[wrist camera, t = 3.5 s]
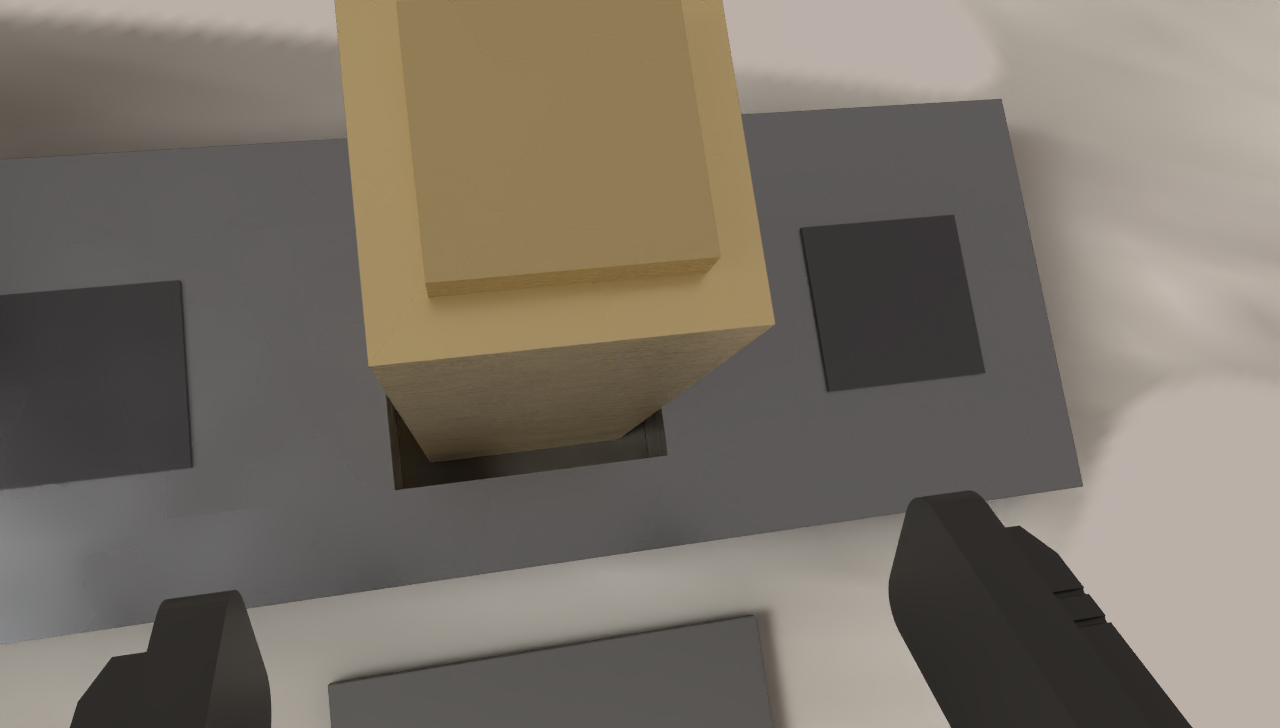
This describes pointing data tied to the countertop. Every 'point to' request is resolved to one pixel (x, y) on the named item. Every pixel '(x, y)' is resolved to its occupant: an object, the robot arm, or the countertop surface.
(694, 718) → the rubber mat
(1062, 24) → the countertop surface
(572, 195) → the wooden square peg
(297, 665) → the countertop surface
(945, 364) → the grey slotted plate
